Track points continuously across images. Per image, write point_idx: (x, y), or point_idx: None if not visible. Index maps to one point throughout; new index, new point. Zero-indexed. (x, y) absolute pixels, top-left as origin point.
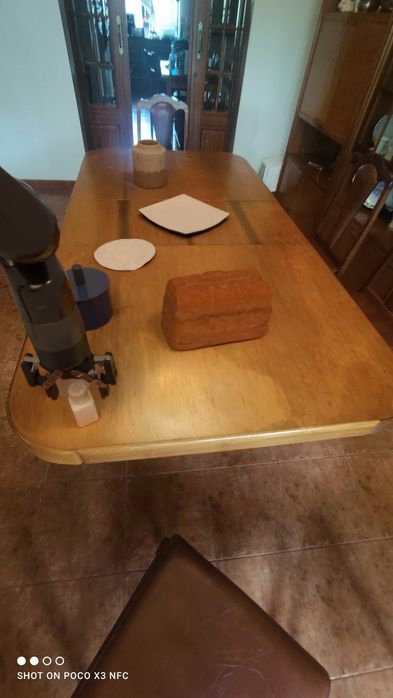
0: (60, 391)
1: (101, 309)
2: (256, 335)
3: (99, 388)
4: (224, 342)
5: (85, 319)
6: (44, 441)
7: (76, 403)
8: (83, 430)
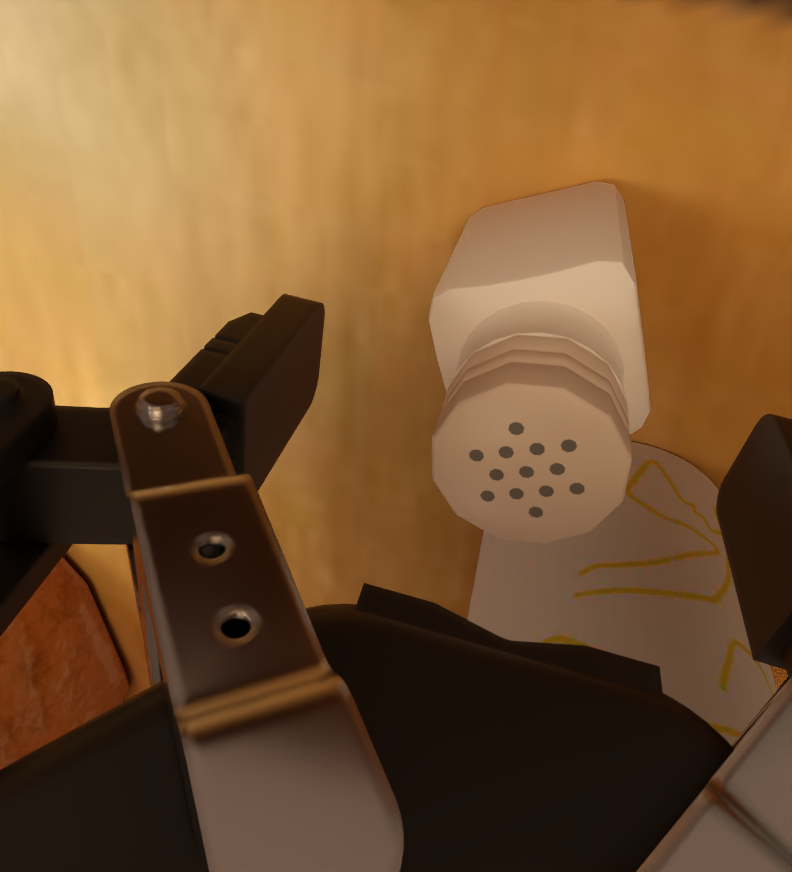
0: (693, 497)
1: None
2: None
3: (238, 392)
4: None
5: None
6: None
7: (577, 329)
8: (594, 152)
